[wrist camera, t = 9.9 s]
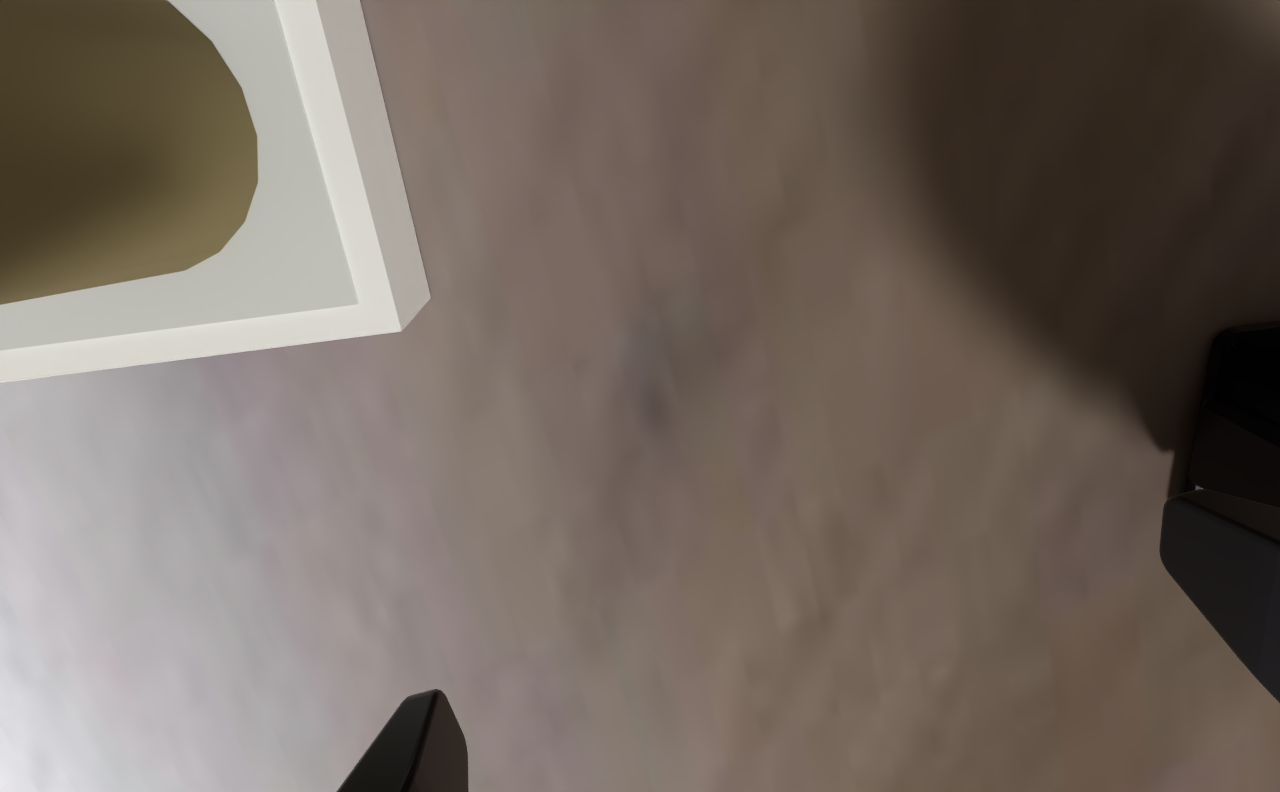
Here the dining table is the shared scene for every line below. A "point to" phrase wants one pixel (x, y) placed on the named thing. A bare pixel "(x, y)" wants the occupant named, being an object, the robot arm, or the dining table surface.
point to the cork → (115, 145)
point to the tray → (263, 216)
